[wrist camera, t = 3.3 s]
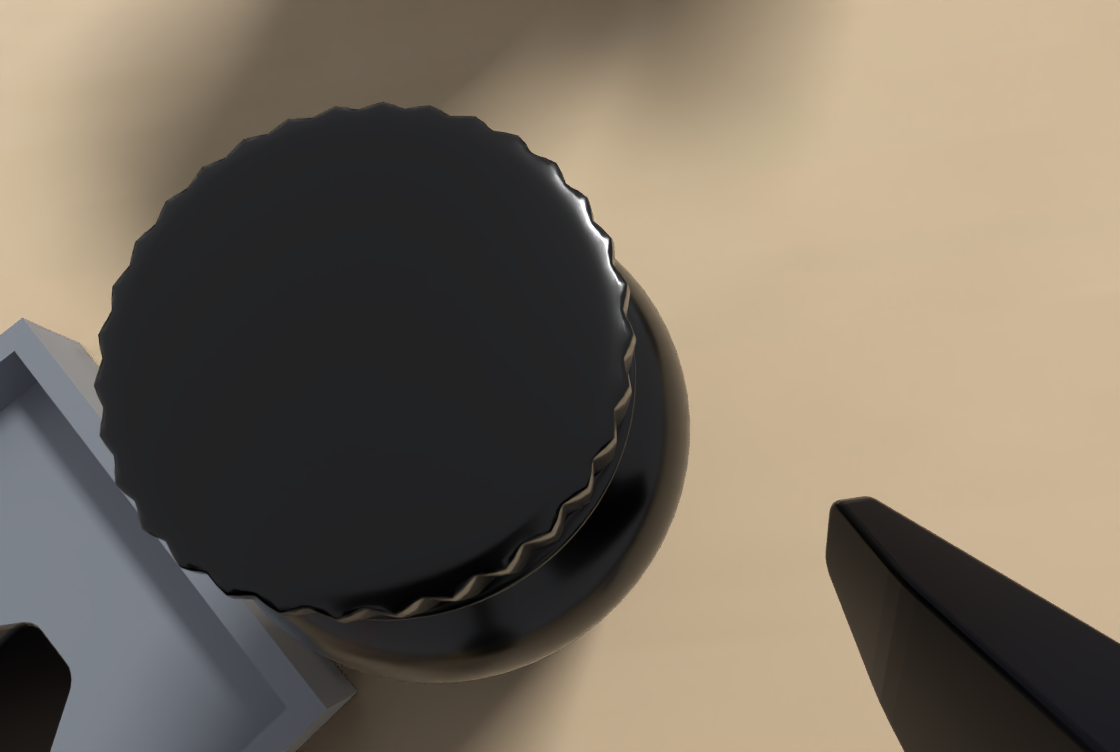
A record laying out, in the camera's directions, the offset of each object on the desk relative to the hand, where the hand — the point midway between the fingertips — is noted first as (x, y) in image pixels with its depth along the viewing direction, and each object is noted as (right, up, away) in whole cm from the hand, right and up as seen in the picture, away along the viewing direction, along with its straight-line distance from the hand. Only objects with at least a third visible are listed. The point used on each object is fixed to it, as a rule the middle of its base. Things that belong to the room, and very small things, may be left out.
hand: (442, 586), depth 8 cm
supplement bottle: (0, 0, +10) cm, 10 cm away
